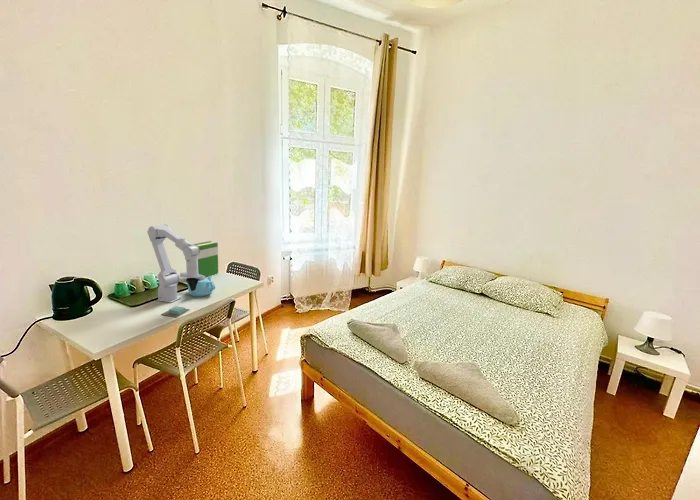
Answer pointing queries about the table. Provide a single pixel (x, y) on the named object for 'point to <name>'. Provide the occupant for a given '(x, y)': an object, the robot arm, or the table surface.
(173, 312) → the teal tile
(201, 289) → the teapot
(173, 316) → the charcoal mat
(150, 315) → the table surface
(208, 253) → the hardback book
